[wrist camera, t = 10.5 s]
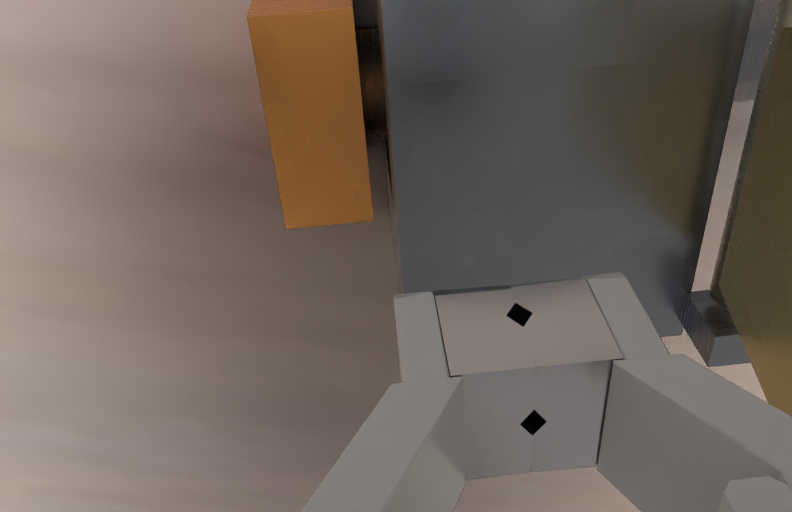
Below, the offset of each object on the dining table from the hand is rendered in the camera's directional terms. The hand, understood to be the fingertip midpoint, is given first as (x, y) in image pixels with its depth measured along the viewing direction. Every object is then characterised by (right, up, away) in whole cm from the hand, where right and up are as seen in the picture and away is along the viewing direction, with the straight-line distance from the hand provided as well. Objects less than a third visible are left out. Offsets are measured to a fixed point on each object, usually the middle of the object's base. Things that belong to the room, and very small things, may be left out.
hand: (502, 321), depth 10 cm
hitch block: (+1, +6, +8) cm, 10 cm away
